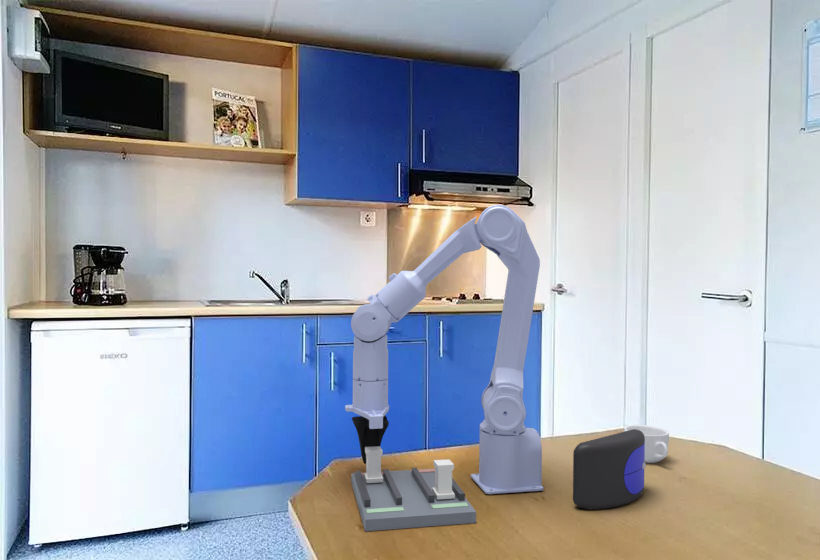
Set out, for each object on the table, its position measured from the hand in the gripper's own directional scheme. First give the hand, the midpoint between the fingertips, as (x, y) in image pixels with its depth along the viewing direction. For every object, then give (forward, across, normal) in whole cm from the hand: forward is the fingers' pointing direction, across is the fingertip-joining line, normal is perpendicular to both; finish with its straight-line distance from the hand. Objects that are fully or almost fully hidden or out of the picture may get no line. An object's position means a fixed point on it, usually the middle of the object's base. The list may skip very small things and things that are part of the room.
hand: (369, 462), depth 94 cm
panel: (+3, +10, +4) cm, 11 cm away
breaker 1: (+1, +5, 0) cm, 5 cm away
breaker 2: (+1, +13, +9) cm, 16 cm away
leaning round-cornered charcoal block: (+3, +13, +35) cm, 37 cm away
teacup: (+3, -1, +52) cm, 52 cm away
